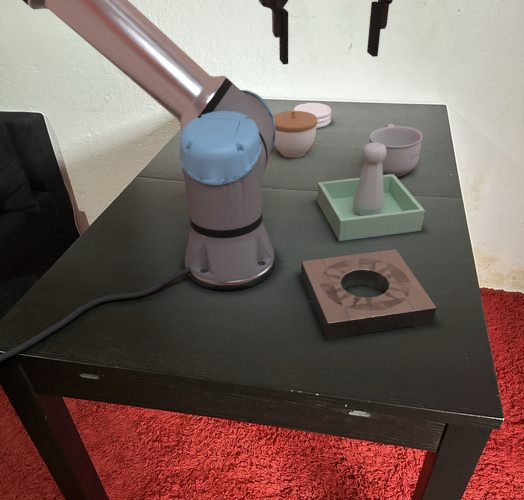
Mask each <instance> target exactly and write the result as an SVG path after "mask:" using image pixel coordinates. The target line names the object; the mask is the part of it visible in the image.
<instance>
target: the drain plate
mask: <svg viewBox="0 0 524 500" xmlns="http://www.w3.org/2000/svg"><path fill="white" fill-rule="evenodd" d="M300 266H301V268H300V278H301V280H302V283H303V284H304V287H305V290H306V292H307V294H308V297H309V300H310V301H311V304H312V306H313V309H314V311H315V313H316V316H317V319H318V321H319V323H320V325H321V328H322V331H323V333H324V335H325V338H326V340H331V339H337V338H343V337H345V338H346V337H350V336H357V335H363V334H364V335H365V334H370V333H371V334H372V333H377V332H385V331H391V330H397V329H404V328H410V327H413V328H414V327H418V326H419V327H420V326H426V325H433V323H434V319H435V315H436V311H437V306H436V305H435V304H434V302H433V301H432V298H430V296H429V294H428V293H427V292H426V290H425V289H424V287H423V286H422V285H421V283H420V282H419V280H418V279H417V277H416V276H415V274H414V273H413V271H412V270H411V269H410V267H409V266H408V264H407V263H406V261H405V260H404V258H403V257H402V256H401V253H399V251H398V250H397V249H396V248H393V249H386V250H378V251H371V252H363V253H355V254H348V255H340V256H331V257H323V258H316V259H308V260H301V265H300ZM353 286H368V287H372V288H374V289H377V290H379V291H380V292H382V294H379V295H377V296H370V297H364V296H357V295H354V294H353V293H349V292H348V291H347V290H345V289H347V288H350V287H353Z"/></svg>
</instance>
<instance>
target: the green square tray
mask: <svg viewBox="0 0 524 500" xmlns="http://www.w3.org/2000/svg"><path fill="white" fill-rule="evenodd" d="M359 179H360V177H355V178H354V177H353V178H345V179H337V180H336V179H335V180H328V181H320V182H319V181H318V182H317V200H316V202H317V204H318V206H319V207H320V209H321V212H322V213H323V215H324V216H325V218H326V220H327V222H328V223H329V226H330V227H331V229H332V231H333V233H334V234H335V236H336V238H337V240H338V241H339V242H345V241H351V240H352V241H353V240H359V239H367V238H368V239H369V238H374V237H375V238H376V237H383V236H391V235H398V234H406V233H408V234H409V233H414V232H421V231H422V230H423V229H422V228H423V223H424V217H425V213H426V209H424V208H423V206H422V205H421V204H420V203H419V201H418V200H417V199H416V198H415V196H413V195H412V194H411V192H410V191H409V190H408V188H406V186H405V185H404V184H403V183H402V182H401V180H400V179H399V177H396V176H395V175H394V174H389V175H383V189H384V205H383V207H382V209H381V211H380V212H379V214H375V215H367V216H359V215H358V214H357V213H356V211H355V208H354V205H353V198H354V195H355V192H356V189H357V185H358V182H359Z"/></svg>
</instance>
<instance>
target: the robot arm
mask: <svg viewBox="0 0 524 500" xmlns="http://www.w3.org/2000/svg"><path fill="white" fill-rule="evenodd" d="M21 1H22V2H24V3H25V4H26V5H27V6H28V7H29V8H31V9H32V10H44V9H46V10H49V11H50V12H51V13H53V15H55V16H56V17H57V18H58V19H60V20H61V21H62V22H63V23H64V24H65V25H67V26H68V27H69V28H70V29H71V30H72V31H74V32H75V33H76V34H77V35H78V36H79V37H80V38H81V39H83V40H84V41H85V42H86V43H88V44H89V46H91V47H92V48H93V49H94V50H96V51H97V52H98V53H99V54H100V55H101V56H103V57H104V58H105V59H106V60H107V61H108V62H109V63H111V64H112V65H113V66H115V68H117V69H118V70H119V71H120V72H121V73H122V74H124V75H125V76H126V77H127V78H128V79H130V80H131V81H132V82H133V83H134V84H135V85H136V86H138V87H139V88H140V89H141V90H142V91H144V93H146V94H147V95H148V96H150V97H151V98H152V99H153V100H154V101H155V102H156V103H158V104H159V105H160V106H161V107H162V108H164V109H165V110H166V111H167V112H168V113H169V114H170V115H172V116H173V117H174V118H175V119H176V120H177V121H178V123H179V127H180V128H179V129H180V136H179V152H178V153H179V162H180V166H181V170H182V175H183V183H184V189H185V196H186V202H187V203H186V204H187V209H188V217H189V223H190V230H189V235H188V239H187V243H186V247H185V253H184V267H185V268H183V269H180V270H179V271H178V272H176V273H173V274H171V275H169V276H168V277H166V278H164V279H162V280H160V281H159V282H158V283H156V284H153V285H152V286H149V287H148V288H145V289H142V290H138V291H133V292H127V293H126V292H125V293H115V294H108V295H104V296H100V297H97V298H94V299H92V300H90V301H88V302H86V303H84V304H83V305H80V306H79V307H78V308H76V309H74V311H72V312H70V313H69V314H68V315H67V316H65V317H63V318H62V319H60V320H59V321H58V322H56V323H54V324H53V325H50V326H49V327H47V328H45V329H44V330H42V331H41V332H39V333H38V334H37V335H34V336H32V337H31V338H29V339H28V340H26V341H24V342H23V343H21V344H18V345H17V346H15V347H13V348H11V349H9V350H7V351H5V352H2V353H1V354H0V363H2V362H4V361H6V360H8V359H10V358H12V357H14V356H16V355H18V354H20V353H22V352H24V351H26V350H27V349H29V348H30V347H31V348H32V347H33V346H34V345H36V344H38V343H39V342H41V341H43V340H44V339H46V338H47V337H49V336H51V335H52V334H53V333H55V332H57V331H59V330H60V329H62V328H64V327H65V326H66V325H68V324H69V323H71V322H72V321H73V320H75V319H76V318H78V317H79V316H81V315H82V314H84V313H85V312H86V311H88V310H89V309H92V308H94V307H96V306H98V305H101V304H104V303H108V302H114V301H122V300H123V301H124V300H132V299H139V298H142V297H146V296H148V295H151V294H153V293H155V292H157V291H159V290H161V289H162V288H164V287H165V286H168V285H169V284H171V283H173V282H174V281H176V280H179V279H180V278H182V277H184V276H188V278H189V279H190V280H191V281H192V282H193V283H195V284H197V285H198V286H201V287H203V288H206V289H210V290H214V291H236V290H238V291H239V290H244V289H247V288H250V287H254V286H255V285H258V284H260V283H261V282H264V281H265V280H266V279H268V277H270V276H271V274H272V273H273V271H274V270H275V266H276V259H275V258H276V256H275V255H276V253H275V249H274V246H273V244H272V241H271V239H270V237H269V234H268V231H267V229H266V227H265V224H264V219H263V192H262V188H263V187H262V182H263V175H264V172H265V169H266V166H267V164H268V161H269V158H270V156H271V154H272V152H273V149H274V147H275V145H274V143H275V130H276V127H275V119H274V113H273V111H272V108H271V107H270V106H269V104H268V102H267V101H266V100H265V99H264V98H262V96H260V95H259V94H257V93H255V92H253V91H251V90H248V89H240V88H239V87H238V86H236V85H235V83H234V82H232V81H231V80H230V79H229V78H228V77H227V76H226V75H217V76H213V75H210V74H209V73H208V72H207V71H206V70H204V68H202V66H200V65H199V64H198V63H197V62H196V61H195V60H194V59H192V58H191V57H190V55H188V53H186V52H185V51H184V50H183V49H182V48H180V46H179V45H177V44H176V43H175V42H174V41H173V40H172V39H171V38H170V37H169V36H168V35H167V34H166V33H164V32H163V31H162V30H161V29H160V28H159V27H158V26H157V25H155V24H154V23H153V21H151V20H150V19H149V18H148V17H147V16H146V15H144V13H142V11H141V10H139V9H138V8H137V7H136V6H135V5H134V4H133V3H132V2H130V0H21ZM393 1H394V0H377V1H371V5H370V13H369V14H370V15H369V25H368V26H369V27H368V28H369V29H368V37H367V38H368V39H367V48H366V53H367V54H369V55H370V56H371V57H373V58H375V57H378V56H379V48H380V38H381V30H386V28H387V26H388V18H389V9H390V5H391V4H392V3H393ZM258 2H259V4H260V5H261V6H262V7H263V8H267V9H270V10H271V32H272V34H273V37H275V39H278V41H279V45H278V47H279V49H278V50H279V51H278V52H279V55H278V56H279V61H280V62H281V64H282V65H289V11H288V10H287V9H286V8H285V6H286V5H287V3H288V2H289V0H258Z"/></svg>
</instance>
